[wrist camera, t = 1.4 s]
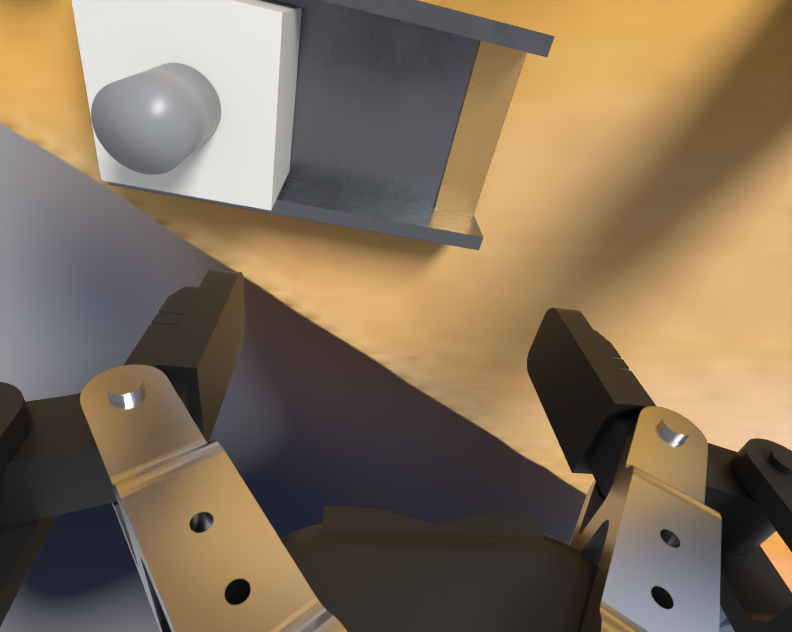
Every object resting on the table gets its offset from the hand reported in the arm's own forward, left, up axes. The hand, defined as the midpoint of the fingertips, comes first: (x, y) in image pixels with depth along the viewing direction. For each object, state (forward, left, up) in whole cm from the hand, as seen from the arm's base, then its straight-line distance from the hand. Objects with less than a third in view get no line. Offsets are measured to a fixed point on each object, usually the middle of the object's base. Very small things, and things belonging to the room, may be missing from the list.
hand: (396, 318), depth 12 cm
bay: (0, -4, -23) cm, 24 cm away
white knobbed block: (0, -10, -22) cm, 24 cm away
